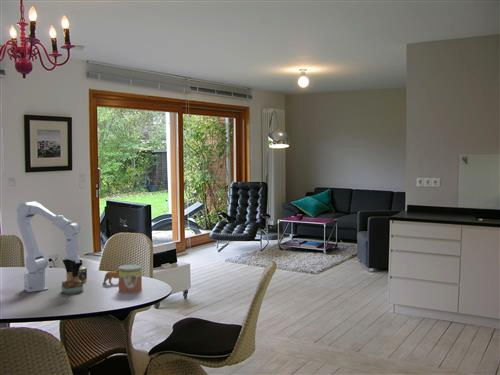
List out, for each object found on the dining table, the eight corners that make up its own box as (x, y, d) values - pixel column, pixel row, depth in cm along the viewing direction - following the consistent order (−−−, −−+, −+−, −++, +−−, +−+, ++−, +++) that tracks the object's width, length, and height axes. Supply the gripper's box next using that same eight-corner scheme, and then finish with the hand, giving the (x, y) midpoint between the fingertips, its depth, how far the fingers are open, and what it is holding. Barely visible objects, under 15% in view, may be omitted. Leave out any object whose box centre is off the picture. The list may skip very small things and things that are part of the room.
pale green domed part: (66, 295, 246) (66, 290, 246) (58, 291, 254) (58, 286, 254) (86, 291, 253) (86, 286, 253) (78, 287, 260) (78, 283, 260)
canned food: (118, 294, 249) (118, 269, 248) (118, 288, 260) (118, 265, 259) (142, 292, 252) (142, 268, 251) (141, 287, 263) (141, 263, 262)
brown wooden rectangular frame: (66, 288, 248) (66, 283, 248) (62, 286, 253) (62, 281, 253) (82, 286, 254) (82, 281, 254) (78, 284, 258) (78, 279, 258)
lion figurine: (125, 280, 277) (125, 264, 276) (130, 282, 273) (130, 265, 272) (100, 284, 267) (100, 267, 267) (104, 286, 263) (104, 269, 263)
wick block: (68, 287, 251) (68, 273, 250) (66, 286, 253) (66, 272, 252) (78, 286, 254) (78, 272, 253) (76, 285, 256) (76, 271, 255)
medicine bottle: (75, 283, 269) (75, 260, 269) (67, 281, 274) (67, 259, 273) (87, 280, 275) (86, 258, 274) (79, 279, 279) (78, 257, 279)
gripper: (85, 249, 249) (86, 276, 250) (74, 244, 260) (74, 271, 261) (71, 250, 245) (71, 278, 245) (60, 246, 256) (60, 273, 256)
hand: (72, 275), depth 253 cm, fingers open, 7 cm apart
